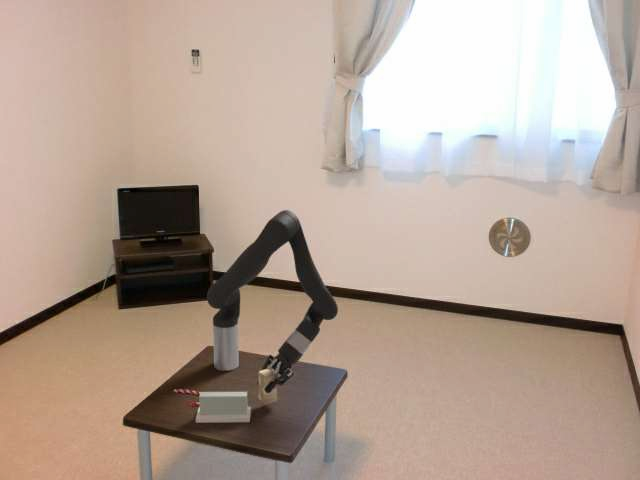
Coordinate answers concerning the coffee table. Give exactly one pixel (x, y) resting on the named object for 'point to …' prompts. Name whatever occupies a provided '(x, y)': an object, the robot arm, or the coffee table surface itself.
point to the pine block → (264, 380)
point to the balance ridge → (223, 407)
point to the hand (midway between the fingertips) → (262, 388)
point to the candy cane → (190, 393)
